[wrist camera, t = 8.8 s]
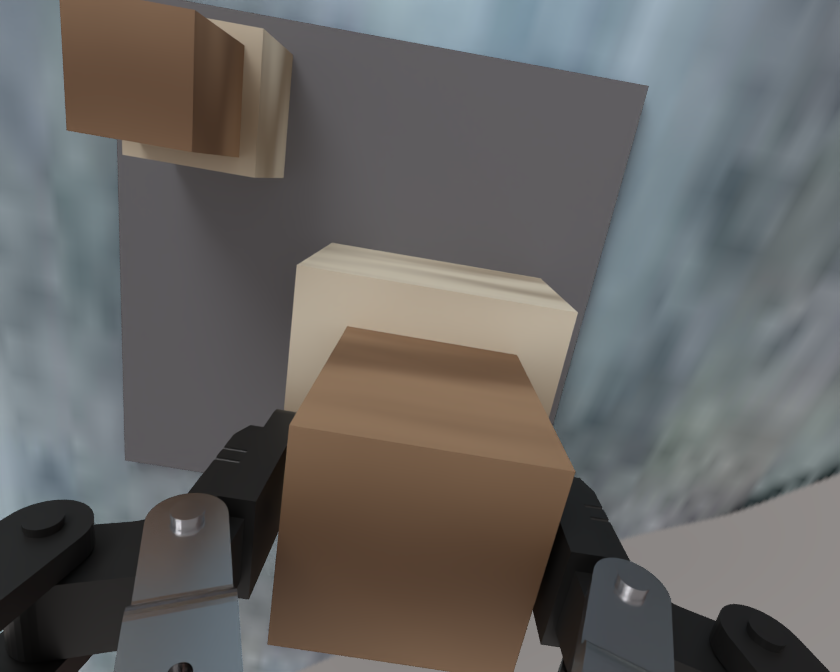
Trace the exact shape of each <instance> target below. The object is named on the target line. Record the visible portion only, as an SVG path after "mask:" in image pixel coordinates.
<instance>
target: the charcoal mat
mask: <svg viewBox="0 0 840 672" xmlns="http://www.w3.org/2000/svg"><path fill="white" fill-rule="evenodd" d="M143 1H149V2H154V3H160V4H165V5H171V6H176V7H182V8H187V9H192V10H196V11H197V12H198V13H200V14H201V15H203V16H204V17H205V18H209V19H214V20H220V21H225V22H231V23H236V24H242V25H247V26H253V27H258V28H263V29H265V30H266V31H267V32H268V33H269V34H270V35H271V36H272V37H274V38H275V39H276V40H277V41H278V42H279V43H280V44H281V45H282V46H284V47H285V48H286V49H287V50H288V51H289V52H290V53H291V54H293V61H292V74H291V87H290V100H289V113H288V127H287V140H286V153H285V166H284V178H253V177H247V176H242V175H236V174H230V173H224V172H219V171H213V170H207V169H202V168H196V167H190V166H184V165H179V164H173V163H167V162H161V161H156V160H150V159H144V158H139V157H133V156H127V155H122V140H119V139H117V157H118V197H119V238H120V278H121V319H122V359H123V399H124V440H125V460H126V461H133V462H139V463H146V464H152V465H158V466H165V467H171V468H177V469H184V470H190V471H197V472H203V473H204V472H205V470H206V469H207V468H208V467H209V465H210V464H211V463H212V461H213V460H214V459H216V456H217V455H218V454H219V452H220V451H221V450H222V449H224V446H225V445H226V443H227V442H228V441H229V440H230V438H231V437H232V436H233V435H234V434H235V433H237V432H239V431H240V430H242V429H244V428H246V427H248V426H249V425H254V426H261V427H264V425H265V424H266V422H267V421H268V420H269V418H270V417H271V415H272V414H273V412H274V411H275V410H276V409H280V410H284V404H285V393H286V381H287V370H288V359H289V347H290V336H291V325H292V313H293V302H294V291H295V279H296V268H297V264H299V263H301V262H302V261H304V260H305V259H307V258H309V257H310V256H312V255H313V254H315V253H317V252H318V251H320V250H321V249H323V248H324V247H326V246H328V245H329V244H331V243H337V244H343V245H349V246H354V247H360V248H366V249H372V250H378V251H384V252H390V253H395V254H401V255H407V256H413V257H419V258H425V259H431V260H436V261H442V262H448V263H454V264H460V265H466V266H472V267H477V268H483V269H489V270H495V271H501V272H507V273H512V274H518V275H524V276H530V277H536V278H541V279H542V280H543V281H544V282H545V283H546V284H547V285H548V286H549V287H551V288H552V289H553V290H554V291H555V292H556V293H557V294H558V295H559V296H560V297H562V298H563V299H564V300H565V301H566V302H567V303H568V304H569V305H570V306H571V307H572V308H574V309H575V310H576V311H577V312H578V314H577V318H576V322H575V325H574V329H573V332H572V336H571V340H570V343H569V347H568V350H567V354H566V358H565V361H564V365H563V368H562V372H561V376H560V379H559V383H558V386H557V390H556V394H555V397H554V401H553V404H552V408H551V412H550V415H549V420H550V422H551V424H552V426H553V423H554V419H555V416H556V412H557V409H558V405H559V402H560V398H561V395H562V391H563V388H564V384H565V380H566V377H567V373H568V370H569V366H570V363H571V359H572V356H573V352H574V349H575V345H576V342H577V338H578V335H579V331H580V327H581V324H582V320H583V317H584V313H585V310H586V306H587V303H588V299H589V296H590V292H591V289H592V285H593V282H594V278H595V274H596V271H597V267H598V264H599V260H600V257H601V253H602V250H603V246H604V243H605V239H606V236H607V232H608V228H609V225H610V221H611V218H612V214H613V211H614V207H615V204H616V200H617V197H618V193H619V190H620V186H621V183H622V179H623V175H624V172H625V168H626V165H627V161H628V158H629V154H630V151H631V147H632V144H633V140H634V137H635V133H636V130H637V126H638V122H639V119H640V115H641V112H642V108H643V105H644V101H645V98H646V94H647V91H648V87H649V86H645V85H640V84H635V83H629V82H624V81H618V80H613V79H607V78H602V77H597V76H591V75H586V74H580V73H575V72H569V71H564V70H558V69H553V68H548V67H542V66H537V65H531V64H526V63H520V62H515V61H510V60H504V59H499V58H493V57H488V56H482V55H477V54H472V53H466V52H461V51H455V50H450V49H444V48H439V47H434V46H428V45H423V44H417V43H412V42H406V41H401V40H395V39H390V38H385V37H379V36H374V35H368V34H363V33H357V32H352V31H347V30H341V29H336V28H330V27H325V26H319V25H314V24H309V23H303V22H298V21H292V20H287V19H281V18H276V17H271V16H265V15H260V14H254V13H249V12H243V11H238V10H232V9H227V8H222V7H216V6H211V5H205V4H200V3H194V2H189V1H184V0H143Z"/></svg>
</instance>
